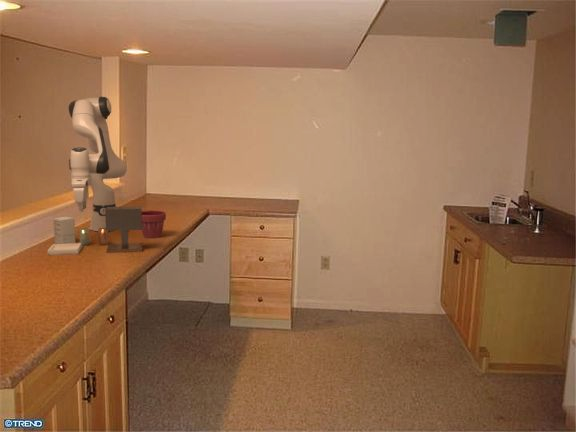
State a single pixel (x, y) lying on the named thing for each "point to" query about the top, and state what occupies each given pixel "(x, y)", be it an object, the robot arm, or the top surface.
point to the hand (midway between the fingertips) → (82, 210)
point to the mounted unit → (124, 226)
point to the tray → (65, 249)
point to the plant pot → (153, 223)
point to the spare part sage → (84, 236)
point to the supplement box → (64, 230)
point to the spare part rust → (103, 236)
